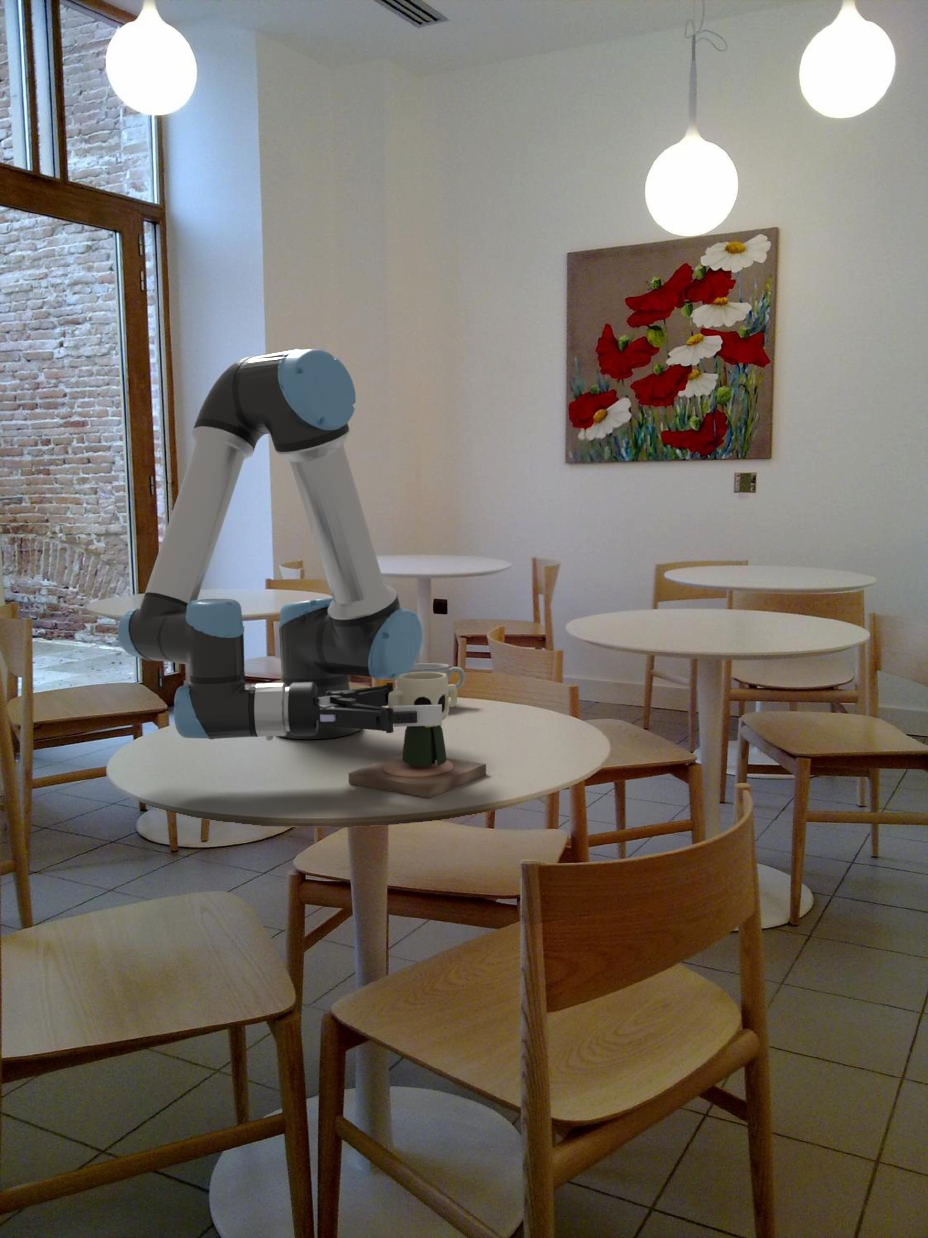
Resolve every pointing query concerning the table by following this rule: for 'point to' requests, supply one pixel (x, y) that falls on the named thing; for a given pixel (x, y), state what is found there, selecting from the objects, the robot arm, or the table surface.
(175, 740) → the table surface
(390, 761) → the walnut board
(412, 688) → the character mug
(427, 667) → the teacup
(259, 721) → the robot arm
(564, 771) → the table surface
